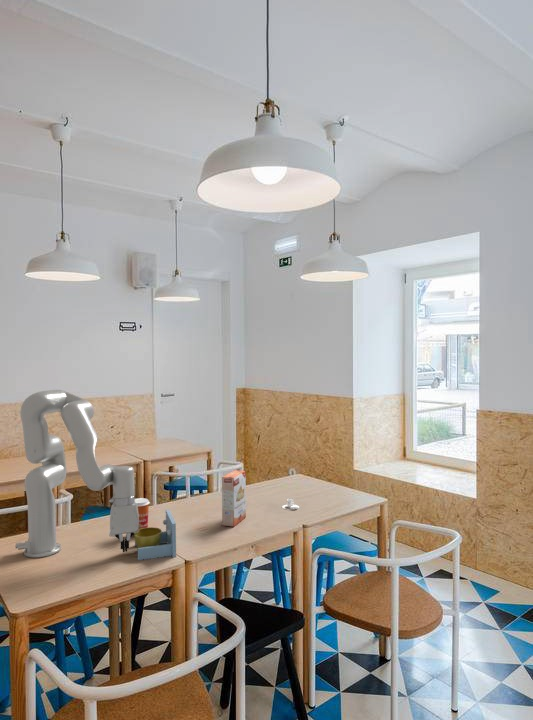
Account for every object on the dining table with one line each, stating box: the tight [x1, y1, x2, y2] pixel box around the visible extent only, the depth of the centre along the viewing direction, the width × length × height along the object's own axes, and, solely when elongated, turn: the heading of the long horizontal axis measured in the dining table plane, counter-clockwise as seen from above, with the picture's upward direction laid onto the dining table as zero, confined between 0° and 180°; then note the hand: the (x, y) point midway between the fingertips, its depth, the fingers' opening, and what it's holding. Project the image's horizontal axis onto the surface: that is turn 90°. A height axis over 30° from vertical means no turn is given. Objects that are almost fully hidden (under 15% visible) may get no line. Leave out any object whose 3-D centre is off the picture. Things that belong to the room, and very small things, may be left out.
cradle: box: [134, 508, 177, 561], centre depth 190 cm, size 13×18×12 cm
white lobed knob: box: [281, 498, 300, 511], centre depth 241 cm, size 9×8×4 cm
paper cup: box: [132, 497, 151, 537], centre depth 207 cm, size 8×8×14 cm
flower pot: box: [133, 526, 162, 549], centre depth 190 cm, size 10×10×7 cm
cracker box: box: [221, 469, 247, 527], centre depth 222 cm, size 14×6×21 cm, turn 161°
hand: (124, 550), depth 187 cm, fingers closed
